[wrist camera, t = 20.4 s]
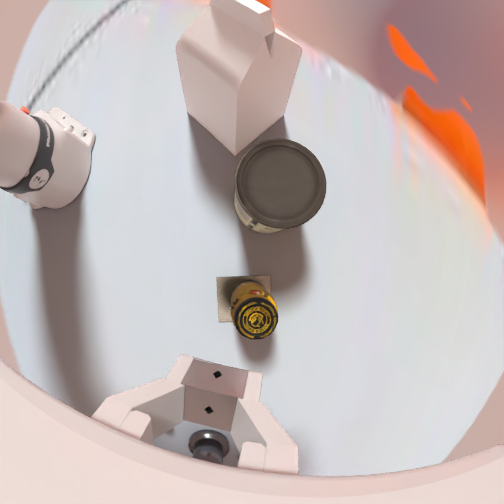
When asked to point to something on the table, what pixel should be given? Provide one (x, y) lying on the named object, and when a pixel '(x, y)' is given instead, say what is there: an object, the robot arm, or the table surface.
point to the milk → (236, 70)
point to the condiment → (247, 305)
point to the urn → (209, 446)
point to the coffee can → (278, 186)
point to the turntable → (179, 441)
